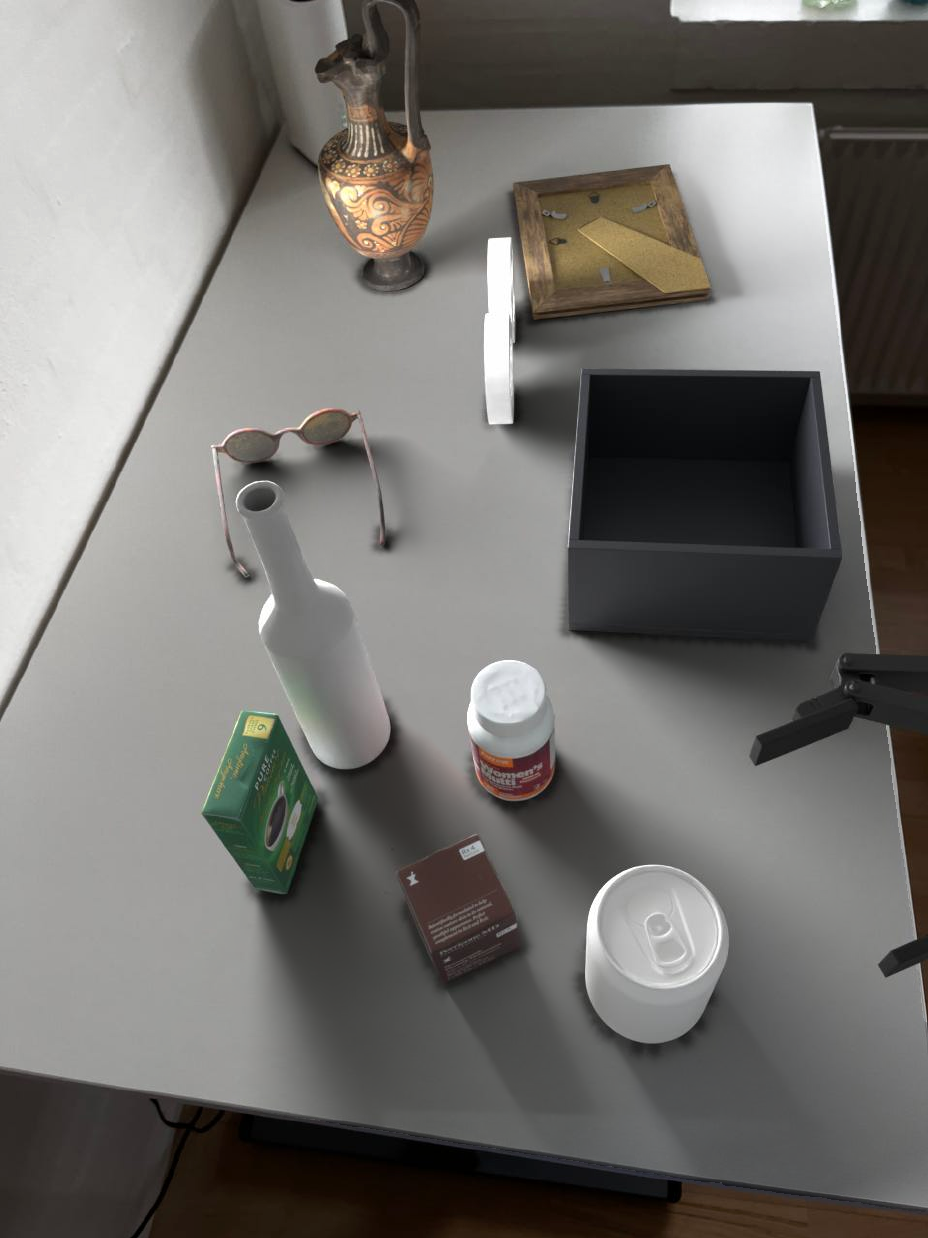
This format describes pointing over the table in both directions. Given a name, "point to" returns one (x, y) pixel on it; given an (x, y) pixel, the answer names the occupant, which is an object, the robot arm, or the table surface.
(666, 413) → the storage bin
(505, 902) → the box
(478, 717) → the pill bottle
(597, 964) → the beverage can
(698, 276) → the picture frame
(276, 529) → the bottle
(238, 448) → the eyeglasses
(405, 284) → the vase
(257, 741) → the coffee box
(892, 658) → the robot arm
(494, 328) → the letter
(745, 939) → the table surface
